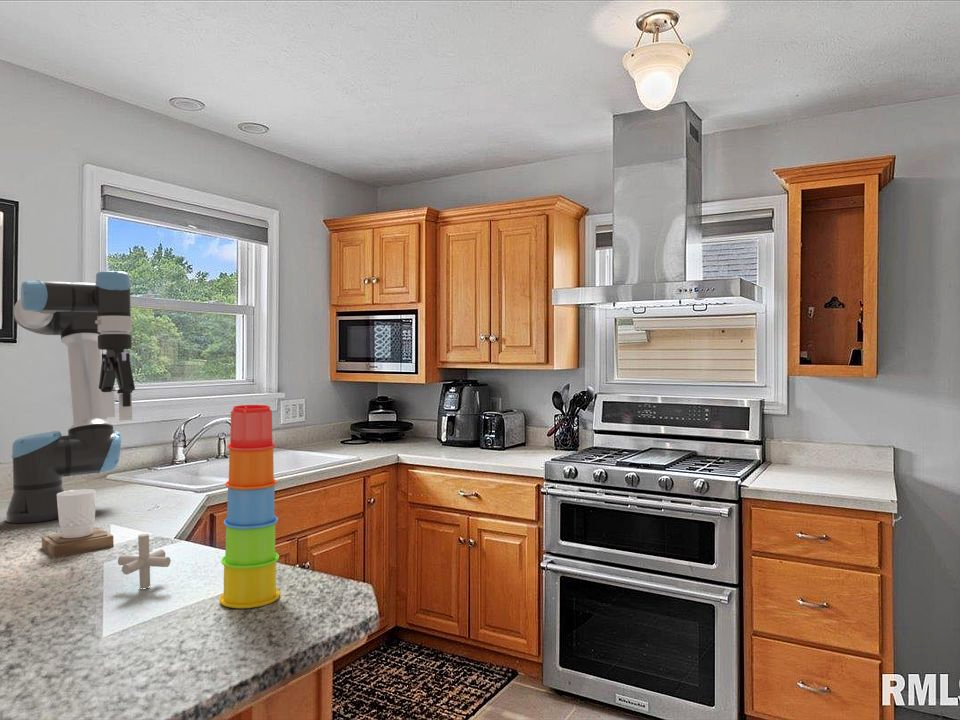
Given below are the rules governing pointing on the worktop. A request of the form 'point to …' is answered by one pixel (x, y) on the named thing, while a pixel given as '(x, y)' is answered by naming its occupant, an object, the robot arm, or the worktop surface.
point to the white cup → (76, 512)
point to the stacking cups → (250, 511)
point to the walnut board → (76, 543)
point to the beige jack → (143, 561)
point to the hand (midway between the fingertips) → (117, 418)
